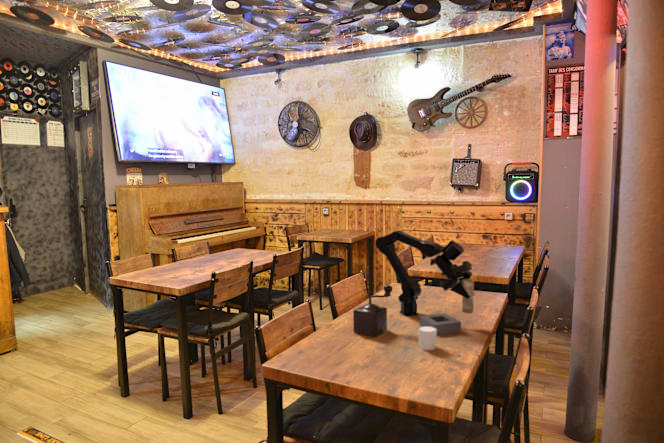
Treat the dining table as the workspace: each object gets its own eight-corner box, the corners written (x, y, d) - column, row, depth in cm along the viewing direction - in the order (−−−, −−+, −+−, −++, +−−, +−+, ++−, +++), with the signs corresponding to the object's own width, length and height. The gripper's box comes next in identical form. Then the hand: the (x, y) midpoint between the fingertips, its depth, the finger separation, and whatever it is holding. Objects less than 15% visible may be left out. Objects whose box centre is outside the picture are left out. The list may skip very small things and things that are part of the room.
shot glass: (415, 349, 153) (415, 330, 153) (420, 342, 159) (420, 324, 159) (434, 352, 150) (434, 333, 150) (438, 345, 156) (439, 327, 156)
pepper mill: (376, 337, 165) (376, 292, 163) (352, 332, 171) (352, 289, 170) (394, 326, 178) (394, 284, 176) (372, 321, 184) (371, 281, 182)
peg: (466, 313, 173) (466, 281, 171) (460, 310, 177) (460, 279, 176) (475, 312, 174) (476, 280, 173) (469, 309, 178) (469, 278, 177)
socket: (434, 334, 167) (434, 325, 167) (419, 325, 178) (419, 316, 178) (460, 331, 170) (460, 321, 170) (444, 322, 182) (444, 313, 182)
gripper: (449, 258, 169) (476, 290, 163) (468, 252, 183) (493, 281, 177) (431, 275, 175) (456, 306, 168) (451, 267, 189) (475, 296, 183)
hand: (471, 296), depth 174 cm, fingers closed on peg, 4 cm apart
